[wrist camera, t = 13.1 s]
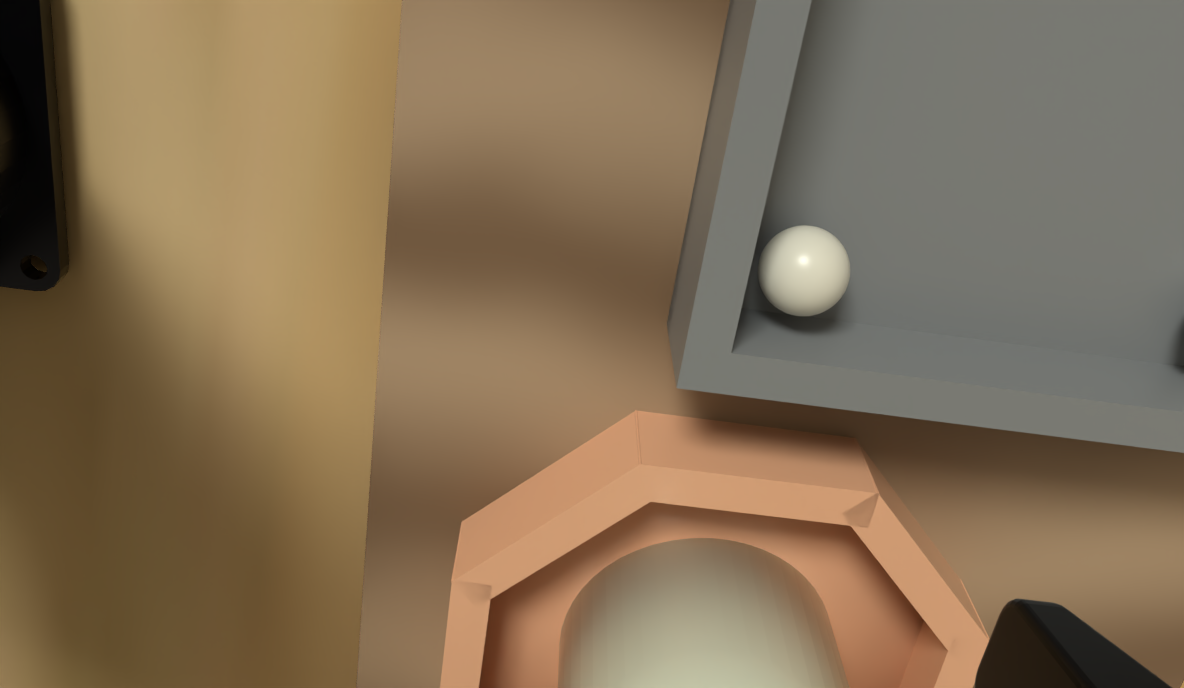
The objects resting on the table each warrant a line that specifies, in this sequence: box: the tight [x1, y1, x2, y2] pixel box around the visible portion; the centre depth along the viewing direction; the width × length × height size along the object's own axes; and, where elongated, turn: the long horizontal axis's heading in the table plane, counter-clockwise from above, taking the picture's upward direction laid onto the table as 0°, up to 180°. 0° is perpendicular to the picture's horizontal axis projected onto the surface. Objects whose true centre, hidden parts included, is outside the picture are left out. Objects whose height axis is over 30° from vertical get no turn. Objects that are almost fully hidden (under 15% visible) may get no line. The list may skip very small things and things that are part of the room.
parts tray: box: [667, 0, 1184, 453], centre depth 18 cm, size 12×12×3 cm
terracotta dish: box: [440, 410, 989, 688], centre depth 24 cm, size 11×11×2 cm
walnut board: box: [356, 0, 1184, 688], centre depth 22 cm, size 29×19×1 cm, turn 172°
